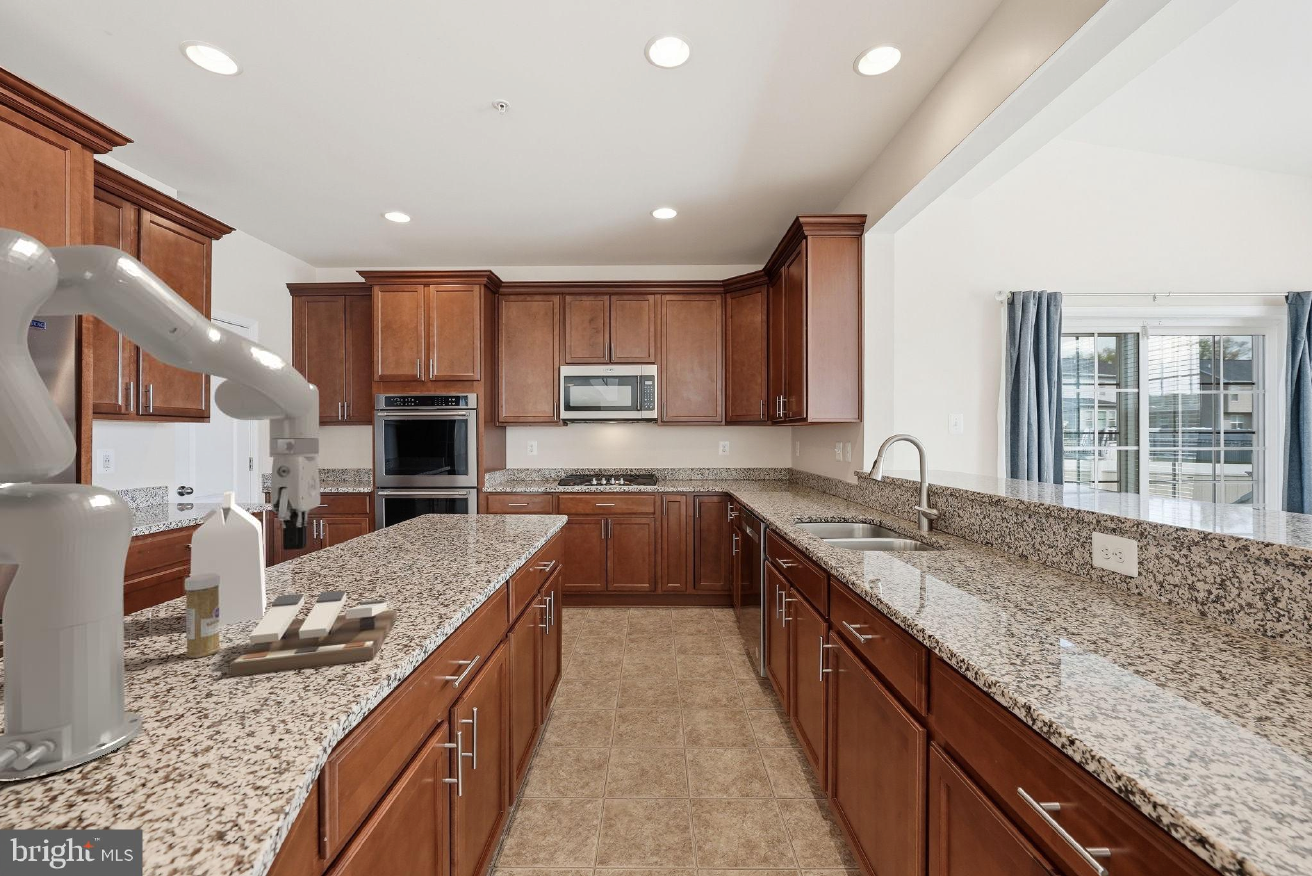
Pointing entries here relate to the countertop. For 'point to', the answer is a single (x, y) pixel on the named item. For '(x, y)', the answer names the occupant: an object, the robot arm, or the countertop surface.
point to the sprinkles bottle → (202, 615)
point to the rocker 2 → (367, 609)
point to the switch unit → (318, 646)
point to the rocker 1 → (277, 619)
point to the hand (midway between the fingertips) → (295, 548)
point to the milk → (232, 560)
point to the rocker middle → (323, 614)
